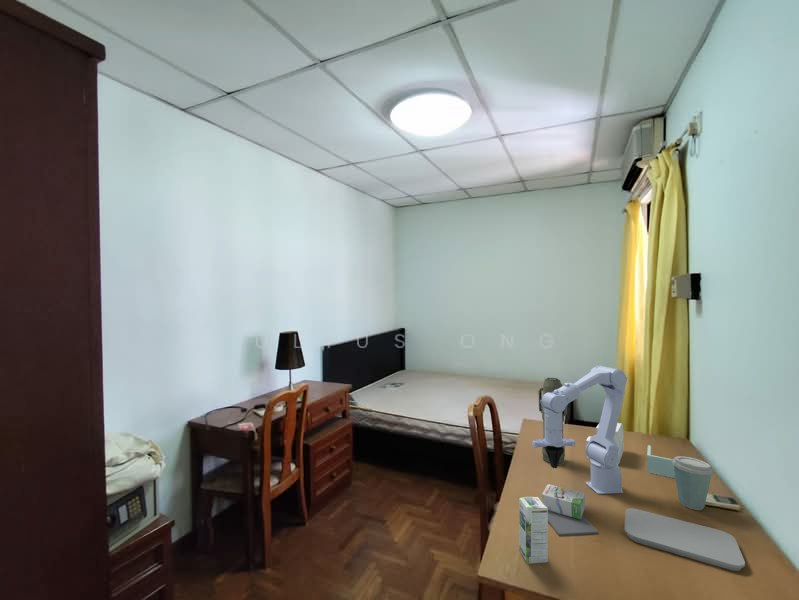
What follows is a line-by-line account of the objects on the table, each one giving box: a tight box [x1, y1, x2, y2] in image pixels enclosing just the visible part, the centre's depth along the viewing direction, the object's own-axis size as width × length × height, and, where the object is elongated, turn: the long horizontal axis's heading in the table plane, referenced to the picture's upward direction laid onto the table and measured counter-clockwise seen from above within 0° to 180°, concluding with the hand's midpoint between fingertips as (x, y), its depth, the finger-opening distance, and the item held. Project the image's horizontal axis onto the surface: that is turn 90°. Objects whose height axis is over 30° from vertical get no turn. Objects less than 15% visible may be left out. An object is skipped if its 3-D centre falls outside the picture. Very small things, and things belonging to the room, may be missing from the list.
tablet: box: [624, 508, 746, 572], centre depth 104 cm, size 16×26×2 cm, turn 57°
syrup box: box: [518, 496, 549, 565], centre depth 98 cm, size 6×6×14 cm
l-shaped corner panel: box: [646, 444, 676, 480], centre depth 146 cm, size 12×12×8 cm
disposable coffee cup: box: [672, 455, 714, 511], centre depth 121 cm, size 11×11×15 cm
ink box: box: [541, 483, 586, 520], centre depth 119 cm, size 8×5×12 cm
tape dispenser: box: [585, 422, 624, 466], centre depth 161 cm, size 12×18×14 cm, turn 142°
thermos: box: [538, 377, 568, 466], centre depth 156 cm, size 9×12×35 cm
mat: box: [548, 510, 599, 537], centre depth 113 cm, size 12×13×1 cm
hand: (553, 467), depth 127 cm, fingers closed
